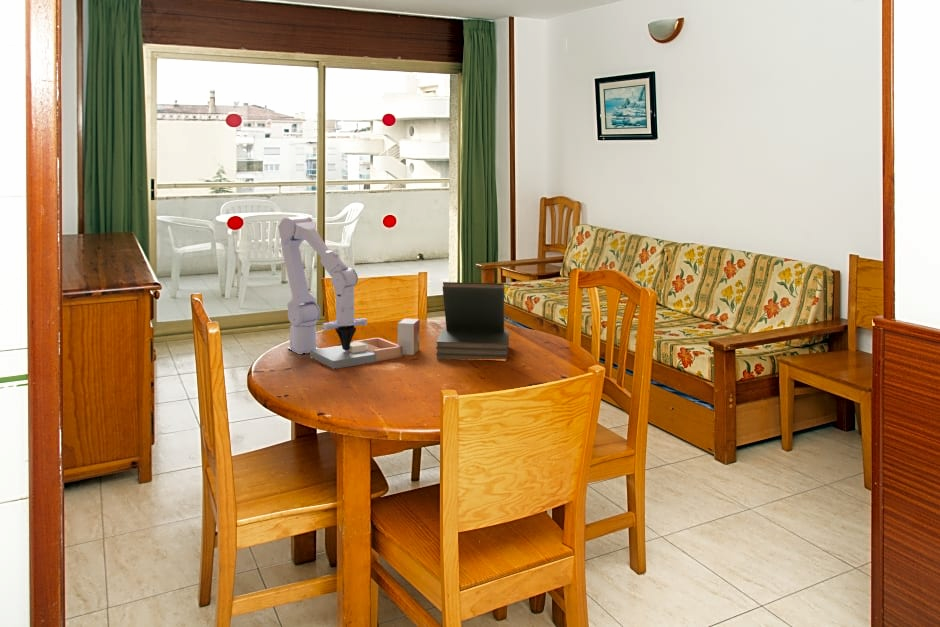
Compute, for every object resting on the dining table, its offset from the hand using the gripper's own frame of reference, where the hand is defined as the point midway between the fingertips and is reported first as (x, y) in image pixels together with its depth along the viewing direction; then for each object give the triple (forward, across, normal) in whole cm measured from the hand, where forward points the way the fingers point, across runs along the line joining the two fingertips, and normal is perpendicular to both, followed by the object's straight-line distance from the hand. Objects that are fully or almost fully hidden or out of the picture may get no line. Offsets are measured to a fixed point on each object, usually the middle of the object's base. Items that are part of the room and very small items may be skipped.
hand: (345, 349), depth 253 cm
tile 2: (+2, +8, 0) cm, 8 cm away
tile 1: (+1, +4, 0) cm, 4 cm away
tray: (+3, +12, 0) cm, 12 cm away
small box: (+3, +22, -3) cm, 22 cm away
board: (+3, -1, 0) cm, 3 cm away
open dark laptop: (+4, +39, -16) cm, 42 cm away
